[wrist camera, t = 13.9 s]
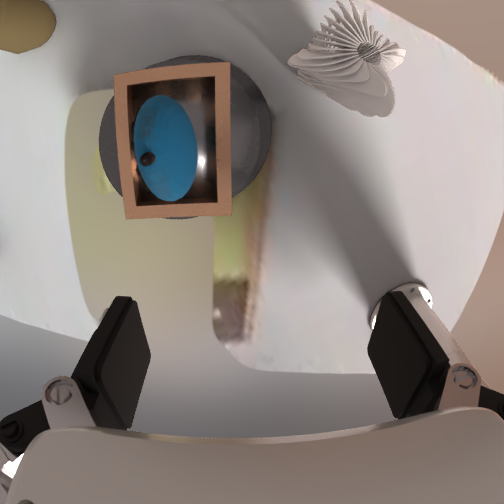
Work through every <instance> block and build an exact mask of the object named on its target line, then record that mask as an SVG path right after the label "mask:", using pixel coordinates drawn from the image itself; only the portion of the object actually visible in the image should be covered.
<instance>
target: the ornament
mask: <svg viewBox="0 0 504 504" xmlns="http://www.w3.org/2000/svg"><path fill="white" fill-rule="evenodd" d="M130 148H131V150H132V151H134V154H135V158H136V161H137V164H138V165H137V166H136V169H135V170H136V173H137V175H139V176H140V178H141V181H142V184H143V186H144V188H145V189H146V190H147V191H148V192H150V191H151V192H152V193H153V194H154V195H155V196H156V197H158V198H160V199H162V200H164V201H176V200H178V199H180V198H182V197H183V196H184V195H185V194H186V193H187V192H188V190H189V189H190V187H191V185H192V183H193V181H194V178H195V174H196V169H197V161H198V151H197V141H196V136H195V132H194V129H193V126H192V123H191V121H190V119H189V117H188V115H187V113H186V112H185V110H184V109H183V107H182V106H181V105H180V104H179V103H178V102H177V101H175V100H174V99H173V98H170V97H168V96H164V95H156V96H154V97H152V98H150V99H148V100H147V101H146V102H145V103H144V104H143V105H142V107H139V108H138V109H137V111H136V114H135V121H133V122H132V124H131V145H130Z"/></svg>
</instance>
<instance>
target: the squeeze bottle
mask: <svg viewBox="0 0 504 504" xmlns="http://www.w3.org/2000/svg"><path fill="white" fill-rule="evenodd" d="M55 25H56V18H55V15H54V13H53V12H52V10H51V9H50V7H49V6H48V5H47V4H46V3H45V2H44V1H41V0H0V50H4V51H8V52H12V53H16V54H20V53H23V52H26V51H29V50H32V49H35V48H38V47H40V46H42V45H43V44H44V43H46V42H47V40H48V39H49V38H50V37H51V35H52V33H53V31H54V29H55Z"/></svg>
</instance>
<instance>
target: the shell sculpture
mask: <svg viewBox="0 0 504 504" xmlns="http://www.w3.org/2000/svg"><path fill="white" fill-rule="evenodd" d="M349 1H350V4H351V6H352V10H353V15H354V18H353V16H352V15H351V13H350V12H349V11H348V9H347V8H346V7H345V6H344V5H343V4H342V3H340V2H339V1H338V0H337V1H336V2H337V4H338V5H339V7H340V8H341V10H342V12H343V14H344V17H343V16H341V15H340V14H339V13H337V12H336V11H335V10H333V9H331V8H329V9H330V10H331V12H332V13H333V14H334V16H335V19H336V21H334V20H332V19H331V18H329V17H327V16H325V15H324V17H325V18H326V19H327V21H328V26H326V25H324V24H322V23H320V25H321V28H322V32H321V31H318V30H317V31H316V35H317V38H315V37H313V38H312V44H310V43H308V49H304V48H303V49H301V50H300V52H299V53H296V54H294V55H293V56H291V57H290V59H289V60H288V65H289V66H291V67H294V68H297V69H299V70H298V71H297V73H298V74H297V78H298V79H299V80H301V81H302V82H304V83H306V84H308V85H309V86H311V87H313V88H314V89H315V90H318V91H321V92H322V93H325V94H326V95H327V96H328V97H329V98H331V99H333V100H335V101H336V102H338V103H340V104H341V105H343V106H345V107H346V108H348V109H351V110H355V111H358V112H360V113H361V114H363V115H365V116H375V115H377V116H380V117H387V116H389V115H390V114H391V113H392V111H393V109H394V105H395V94H394V89H393V87H392V83H391V81H390V79H389V77H388V75H387V73H388V72H389V71H391V70H392V69H394V68H395V67H396V66H398V65H399V64H401V63H402V62H403V61H404V56H405V53H406V51H405V50H404V48H399V46H398V44H397V43H396V42H393V43H391V44H390V42H389V39H388V38H387V39H386V40H385V41H384V42H383V43H382V44H381V45H380V46H378V45H379V43H380V41H381V39H382V36H383V35H382V34H381V36H380V37H379V38H378V39H377V36H378V31H375V32H374V26H373V25H371V26H370V27H369V21H368V13H367V10H365V11H364V16H363V22H362V18H361V15H360V13H359V10H358V8H357V6H356V5H355V3H354V1H353V0H349ZM340 21H341V23H342V24H343V25H344V27H343V26H342V25H341V24H340ZM331 25H333V26H335V27H336V29H333V28H331ZM326 31H328V34H327V33H325V32H326ZM331 33H332V34H334V35H330V34H331ZM336 36H337V37H336ZM325 38H326V41H325ZM329 39H331V42H330V41H329ZM333 41H335V42H333ZM324 44H325V45H324ZM328 44H329V47H328V48H327V45H328ZM331 45H333V48H330V47H331ZM335 46H336V47H338V48H335ZM339 48H340V49H339ZM378 49H379V51H377V50H378ZM326 50H327V53H326V52H325V51H326ZM329 50H331V52H330V53H329ZM333 50H335V51H334V52H333ZM375 51H377V52H376V53H374V52H375ZM372 53H374V54H372ZM370 54H372V55H370ZM369 55H370V56H369ZM361 56H363V57H361ZM367 56H369V57H367ZM372 56H373V57H372ZM364 57H366V58H364ZM370 57H371V58H370ZM362 58H364V59H362ZM368 58H369V59H368ZM315 59H316V60H315ZM317 59H318V60H317ZM366 59H367V60H366Z"/></svg>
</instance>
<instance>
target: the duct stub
mask: <svg viewBox="0 0 504 504" xmlns="http://www.w3.org/2000/svg"><path fill="white" fill-rule="evenodd" d="M156 95H164V96H168V97H170V98H173V99H174V100H175V101H177V102H178V103H179V104H180V105H181V106H182V107H183V109H184V110H185V112H186V113H187V115H188V117H189V119H190V121H191V123H192V126H193V129H194V132H195V136H196V141H197V151H198V161H197V169H196V174H195V178H194V181H193V183H192V185H191V187H190V189H189V190H188V192H187V193H186V194H185V195H184V196H183V197H182V198H180V199H178V200H176V201H164V200H162V199H160V198H158V197H156V196H155V195H154V194H153V193H152V192H151V191H150V192H148V191H147V190H146V189H145V188H144V186H143V184H142V181H141V178H140V176H139V175H137V173H136V170H135V169H136V166H137V165H138V164H137V161H136V158H135V154H134V151H132V150H131V148H130V145H131V124H132V122H133V121H135V114H136V111H137V109H138V108H139V107H142V105H143V104H144V103H145V102H146V101H147V100H148V99H150V98H152V97H154V96H156ZM271 132H272V130H271V118H270V113H269V109H268V106H267V103H266V101H265V99H264V97H263V95H262V93H261V91H260V90H259V88H258V87H257V85H256V84H255V83H254V82H253V81H252V80H251V78H250V77H249V76H248V75H246V74H245V73H244V72H243V71H241V70H240V69H239V68H237V67H235V66H234V65H232V64H230V62H225V61H223V60H220V59H217V58H213V57H208V56H199V55H198V56H183V57H177V58H174V59H170V60H167V61H165V62H160V63H157V64H154V65H151V66H149V67H147V68H145V69H143V70H138V71H132V72H126V73H121V74H116V75H114V96H113V97H112V99H111V100H110V102H109V104H108V106H107V108H106V110H105V113H104V116H103V118H102V122H101V127H100V133H99V151H100V157H101V161H102V165H103V168H104V170H105V173H106V175H107V177H108V179H109V181H110V182H111V184H112V186H113V187H114V188H115V189H116V191H117V192H118V193H119V194H120V195H121V196H122V197H123V202H124V209H125V216H126V219H143V218H167V219H188V218H194V217H198V216H223V215H232V198H233V197H234V196H235V195H237V194H238V193H240V192H241V191H242V190H243V189H244V188H246V187H247V186H248V185H249V184H250V183H251V181H252V180H253V179H254V178H255V177H256V175H257V174H258V172H259V171H260V169H261V168H262V166H263V164H264V162H265V159H266V157H267V154H268V151H269V147H270V142H271Z"/></svg>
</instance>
